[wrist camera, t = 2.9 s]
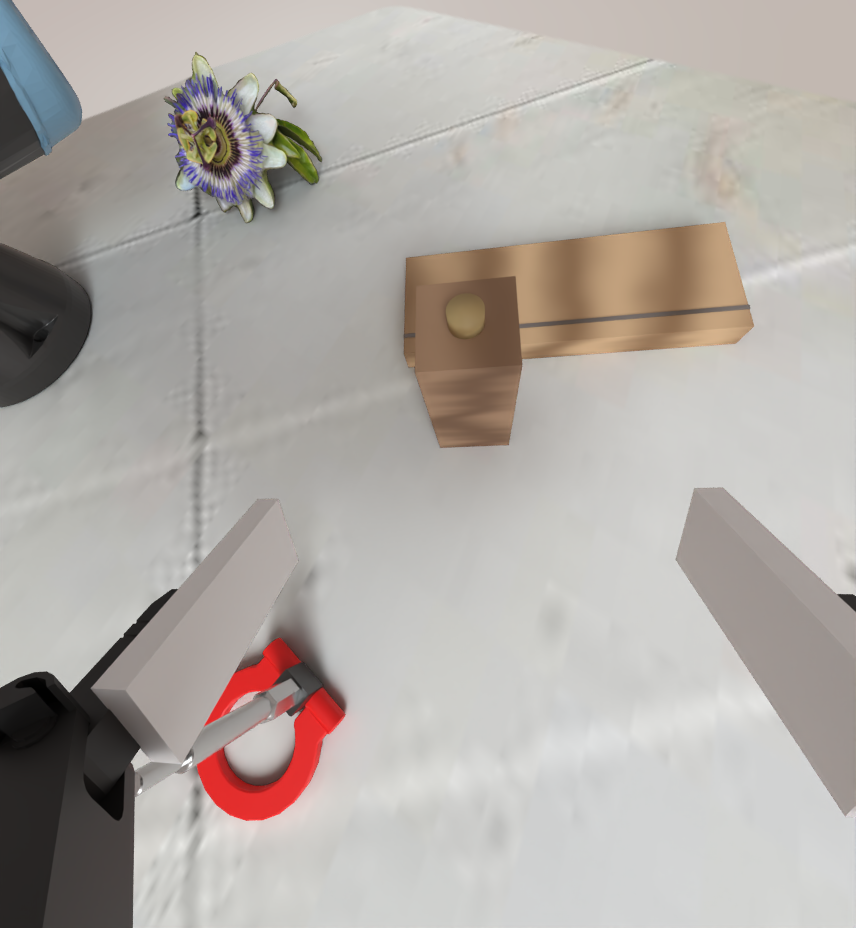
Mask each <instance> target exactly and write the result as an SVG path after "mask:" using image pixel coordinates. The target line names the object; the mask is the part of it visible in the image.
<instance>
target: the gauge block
mask: <svg viewBox="0 0 856 928" xmlns="http://www.w3.org/2000/svg"><path fill="white" fill-rule="evenodd" d="M521 370H522V355H521V341H520V328H519V315H518V302H517V288H516V276H510V277H500V278H490V279H480V280H471V281H461V282H451V283H441V284H431V285H421V286H416V331H415V374H416V377H417V380H418V383H419V386H420V389H421V392H422V395H423V398H424V401H425V404H426V407H427V410H428V413H429V416H430V419H431V421H432V424H433V427H434V430H435V433H436V436H437V439H438V442H439V445H440V448H447V447H470V446H493V445H509V440H510V434H511V428H512V422H513V417H514V411H515V405H516V399H517V393H518V387H519V381H520V375H521Z"/></svg>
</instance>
